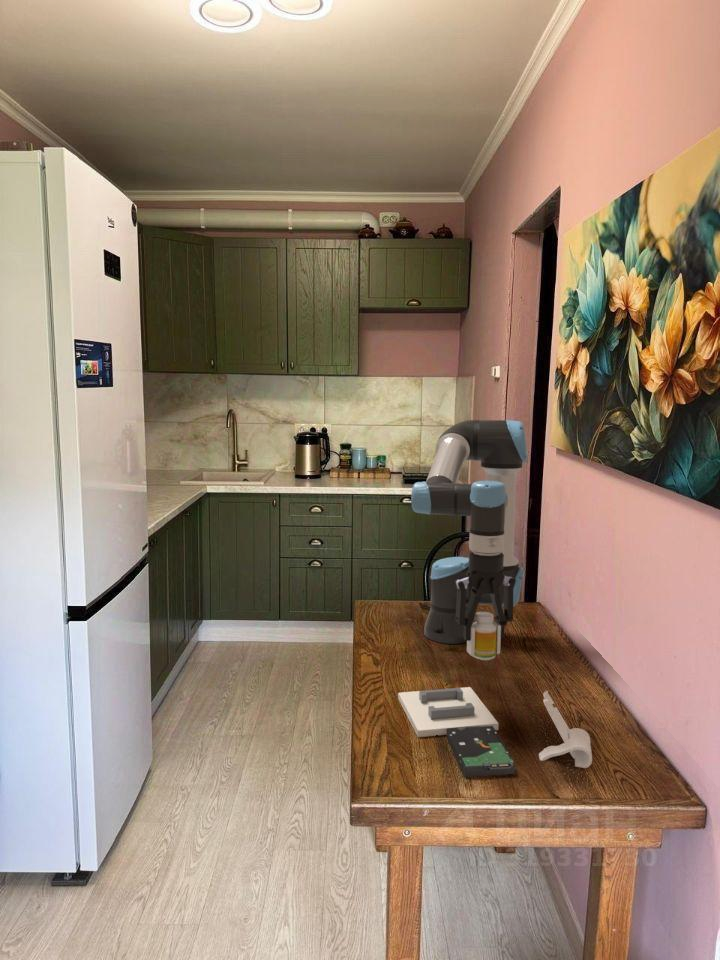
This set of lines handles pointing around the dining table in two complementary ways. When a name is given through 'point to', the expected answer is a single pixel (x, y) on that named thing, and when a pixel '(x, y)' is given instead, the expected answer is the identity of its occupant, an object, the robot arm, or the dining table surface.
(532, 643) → the dining table surface
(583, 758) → the plastic part
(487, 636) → the supplement bottle
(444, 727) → the bottle holder
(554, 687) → the dining table surface
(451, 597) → the robot arm
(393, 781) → the dining table surface
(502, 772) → the disk drive
